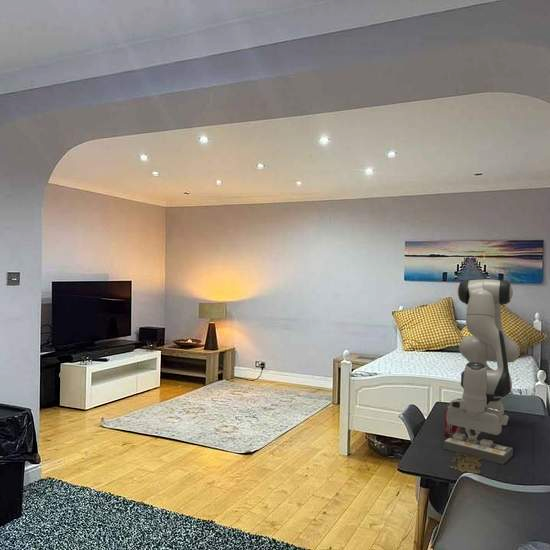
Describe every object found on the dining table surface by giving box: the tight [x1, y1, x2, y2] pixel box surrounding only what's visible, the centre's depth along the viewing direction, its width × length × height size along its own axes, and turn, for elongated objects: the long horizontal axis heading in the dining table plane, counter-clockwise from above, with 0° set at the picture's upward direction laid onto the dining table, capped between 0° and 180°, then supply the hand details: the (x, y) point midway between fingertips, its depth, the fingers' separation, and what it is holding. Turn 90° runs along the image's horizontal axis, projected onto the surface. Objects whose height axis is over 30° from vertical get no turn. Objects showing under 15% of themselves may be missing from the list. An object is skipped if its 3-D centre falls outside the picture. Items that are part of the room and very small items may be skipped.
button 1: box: [453, 433, 466, 441], centre depth 201 cm, size 4×4×2 cm
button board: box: [442, 436, 514, 465], centre depth 194 cm, size 12×22×3 cm, turn 51°
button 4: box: [494, 444, 508, 451], centre depth 191 cm, size 4×4×2 cm
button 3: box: [480, 438, 494, 448], centre depth 194 cm, size 4×4×2 cm
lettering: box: [449, 451, 484, 474], centre depth 185 cm, size 25×10×1 cm, turn 154°
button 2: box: [466, 439, 479, 444], centre depth 197 cm, size 4×4×2 cm
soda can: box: [444, 405, 464, 438], centre depth 213 cm, size 7×7×12 cm
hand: (472, 440), depth 197 cm, fingers closed
